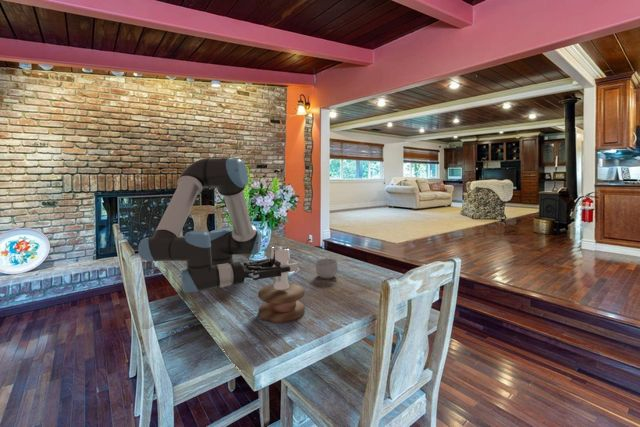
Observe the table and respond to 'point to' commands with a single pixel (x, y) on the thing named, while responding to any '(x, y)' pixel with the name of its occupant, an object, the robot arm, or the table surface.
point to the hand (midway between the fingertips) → (293, 263)
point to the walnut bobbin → (281, 304)
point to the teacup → (326, 268)
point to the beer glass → (278, 258)
